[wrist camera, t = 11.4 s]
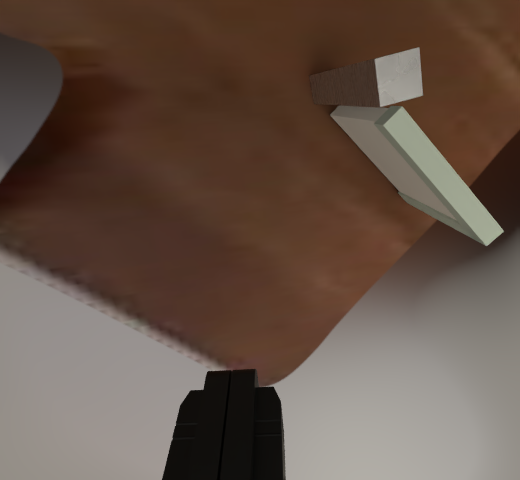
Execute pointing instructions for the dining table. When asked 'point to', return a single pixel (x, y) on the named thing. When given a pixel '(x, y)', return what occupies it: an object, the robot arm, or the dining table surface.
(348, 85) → the post
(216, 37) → the dining table surface
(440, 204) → the beige and green panel
